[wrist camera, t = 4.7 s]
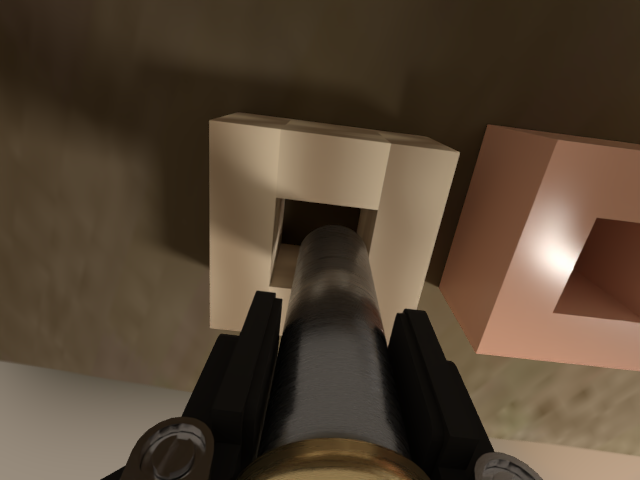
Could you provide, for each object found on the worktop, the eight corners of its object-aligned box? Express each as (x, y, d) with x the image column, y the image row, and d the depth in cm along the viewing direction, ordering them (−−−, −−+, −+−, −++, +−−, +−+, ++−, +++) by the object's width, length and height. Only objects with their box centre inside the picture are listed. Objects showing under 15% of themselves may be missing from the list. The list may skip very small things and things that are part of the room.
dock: (670, 148, 19) (815, 173, 13) (590, 305, 23) (675, 375, 17) (487, 124, 18) (557, 139, 13) (438, 287, 22) (476, 353, 17)
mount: (426, 136, 19) (460, 152, 14) (389, 295, 23) (405, 349, 18) (238, 112, 18) (209, 120, 14) (233, 278, 22) (210, 328, 18)
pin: (381, 223, 15) (484, 508, 5) (366, 296, 16) (421, 632, 6) (295, 212, 15) (218, 479, 5) (288, 287, 16) (216, 610, 6)
